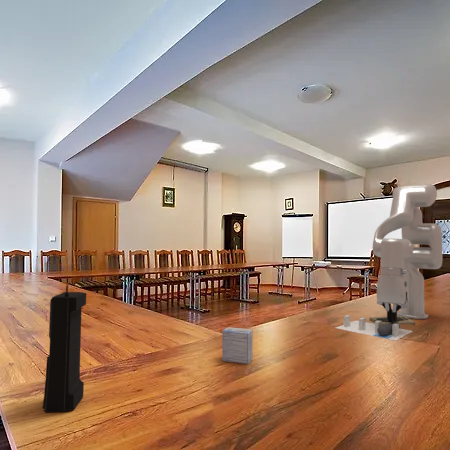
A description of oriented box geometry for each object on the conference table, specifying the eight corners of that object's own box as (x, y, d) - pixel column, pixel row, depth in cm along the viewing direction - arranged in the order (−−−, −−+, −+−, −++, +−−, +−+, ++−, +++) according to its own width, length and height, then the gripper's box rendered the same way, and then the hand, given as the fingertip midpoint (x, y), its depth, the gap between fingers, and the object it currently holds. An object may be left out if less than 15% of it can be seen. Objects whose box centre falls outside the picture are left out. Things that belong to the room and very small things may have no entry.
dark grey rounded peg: (391, 329, 131) (391, 320, 131) (400, 330, 129) (400, 322, 129) (375, 335, 121) (375, 325, 121) (385, 337, 119) (385, 327, 119)
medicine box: (252, 359, 99) (253, 329, 100) (248, 365, 95) (249, 333, 95) (226, 356, 102) (227, 326, 102) (221, 361, 98) (222, 330, 98)
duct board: (355, 322, 145) (355, 310, 145) (413, 333, 129) (413, 320, 129) (334, 330, 132) (334, 317, 132) (395, 343, 116) (395, 328, 117)
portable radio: (56, 395, 76) (60, 280, 77) (85, 394, 76) (88, 280, 77) (40, 413, 68) (45, 285, 69) (72, 412, 68) (76, 285, 69)
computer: (382, 329, 137) (382, 320, 137) (368, 324, 145) (368, 316, 145) (415, 327, 141) (415, 319, 141) (400, 322, 149) (400, 314, 149)
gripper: (417, 273, 126) (417, 324, 125) (375, 270, 136) (375, 317, 136) (410, 274, 121) (410, 327, 120) (367, 271, 131) (367, 320, 131)
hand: (392, 322), depth 128 cm, fingers closed
